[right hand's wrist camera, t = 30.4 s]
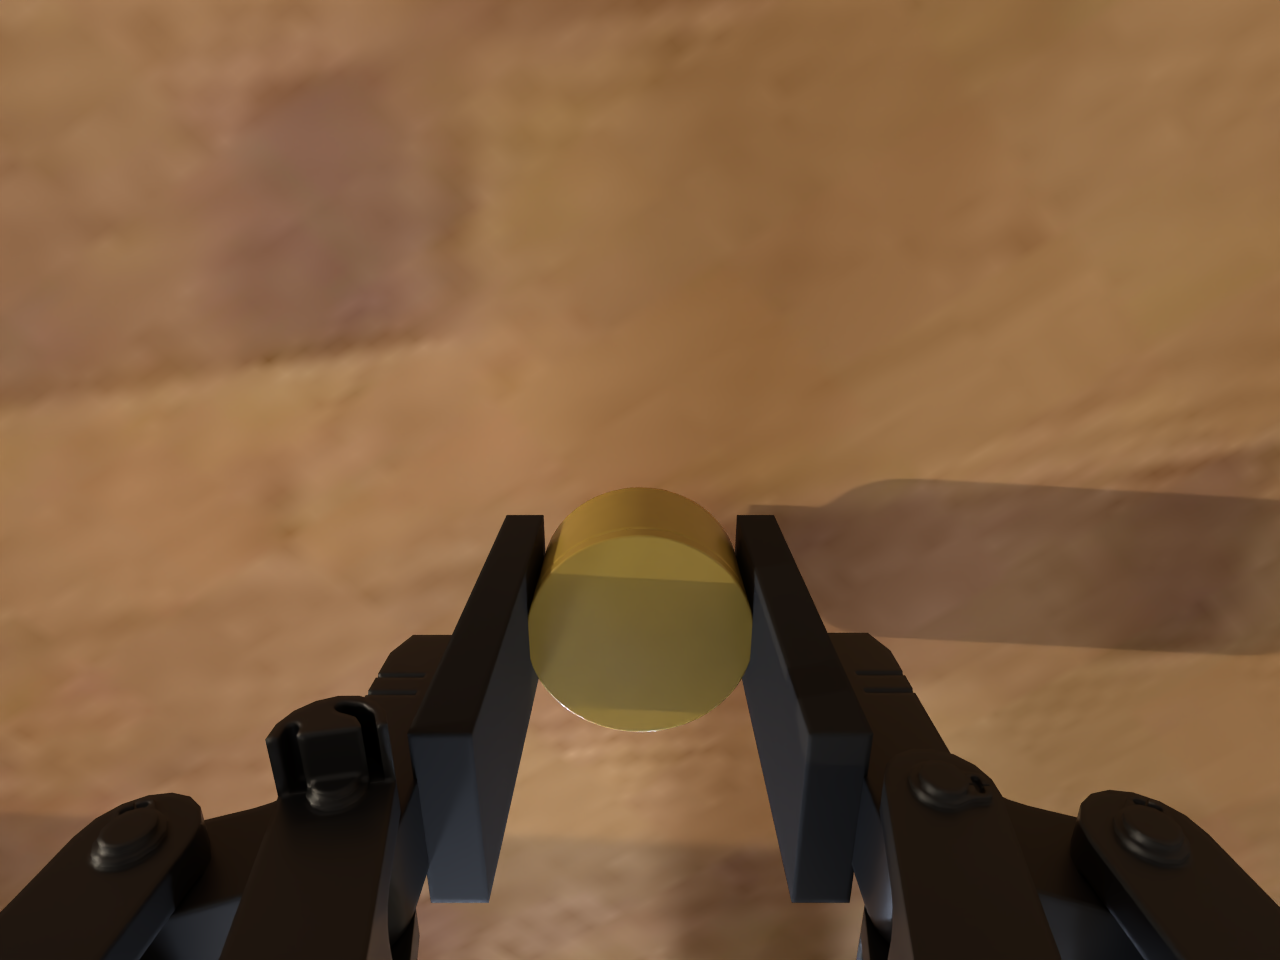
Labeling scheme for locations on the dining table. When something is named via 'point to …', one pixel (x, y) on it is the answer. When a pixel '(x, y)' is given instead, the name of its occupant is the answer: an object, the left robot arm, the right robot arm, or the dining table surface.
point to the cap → (640, 612)
